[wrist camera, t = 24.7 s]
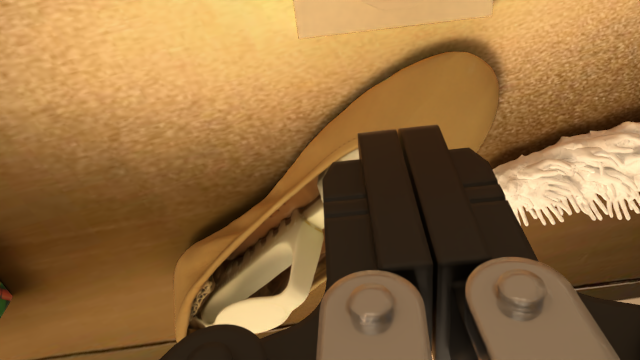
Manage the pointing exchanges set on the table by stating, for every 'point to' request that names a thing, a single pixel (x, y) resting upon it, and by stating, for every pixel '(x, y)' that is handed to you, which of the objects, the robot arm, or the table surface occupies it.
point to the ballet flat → (321, 198)
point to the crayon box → (4, 298)
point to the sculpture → (576, 175)
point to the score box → (380, 14)
